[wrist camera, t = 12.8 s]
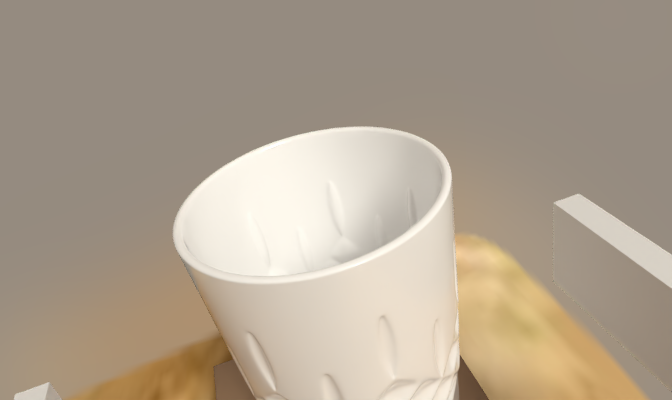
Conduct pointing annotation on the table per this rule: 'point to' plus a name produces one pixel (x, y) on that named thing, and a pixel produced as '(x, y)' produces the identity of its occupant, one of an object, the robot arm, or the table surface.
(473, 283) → the table surface
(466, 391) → the walnut block
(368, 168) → the white cup
